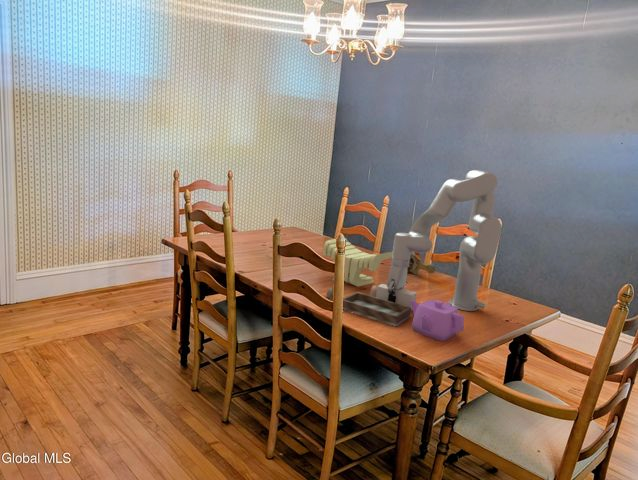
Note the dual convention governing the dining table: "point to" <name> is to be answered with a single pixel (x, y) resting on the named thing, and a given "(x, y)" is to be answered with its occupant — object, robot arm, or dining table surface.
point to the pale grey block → (401, 294)
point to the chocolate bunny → (330, 291)
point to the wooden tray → (376, 308)
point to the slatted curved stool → (356, 262)
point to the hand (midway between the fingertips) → (394, 301)
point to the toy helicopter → (418, 264)
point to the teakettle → (436, 319)
